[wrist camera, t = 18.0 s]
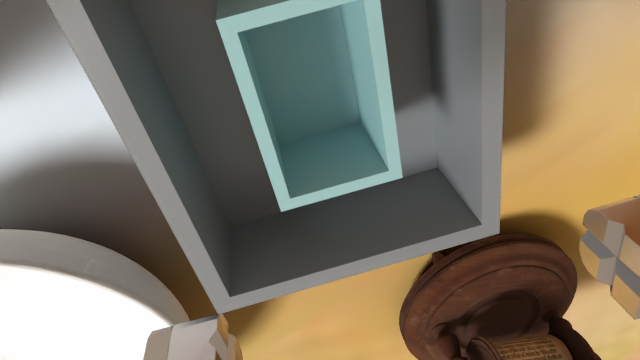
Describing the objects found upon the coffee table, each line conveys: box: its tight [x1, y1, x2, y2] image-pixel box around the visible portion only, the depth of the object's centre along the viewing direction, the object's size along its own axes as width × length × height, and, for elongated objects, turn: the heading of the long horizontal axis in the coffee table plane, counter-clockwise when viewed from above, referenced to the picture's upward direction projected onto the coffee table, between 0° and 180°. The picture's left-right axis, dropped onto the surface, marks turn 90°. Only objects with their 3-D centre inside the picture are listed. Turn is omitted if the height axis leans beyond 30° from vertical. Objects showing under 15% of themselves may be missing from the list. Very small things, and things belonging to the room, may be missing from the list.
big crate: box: [46, 0, 506, 314], centre depth 21 cm, size 16×21×7 cm
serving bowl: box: [0, 229, 190, 360], centre depth 28 cm, size 21×21×7 cm
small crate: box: [216, 0, 403, 212], centre depth 21 cm, size 6×9×6 cm, turn 12°
